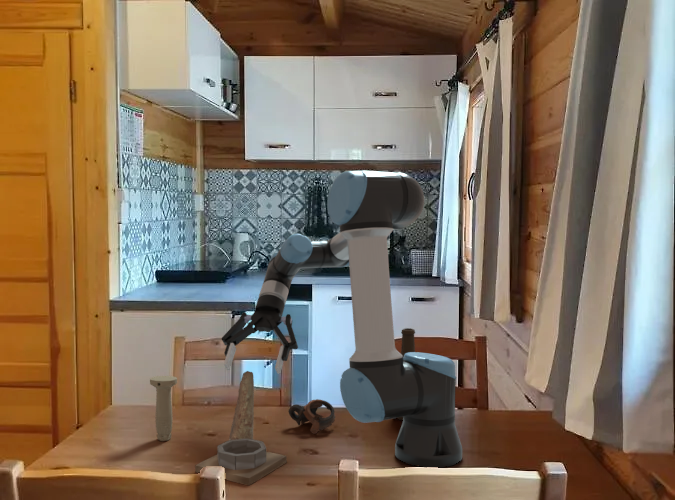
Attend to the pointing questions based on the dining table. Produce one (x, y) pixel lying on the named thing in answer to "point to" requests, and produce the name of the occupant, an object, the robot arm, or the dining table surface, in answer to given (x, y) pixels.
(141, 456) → the dining table surface
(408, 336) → the beer bottle
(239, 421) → the tapered stone pillar
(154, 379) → the handle
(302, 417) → the dark twisted loops
